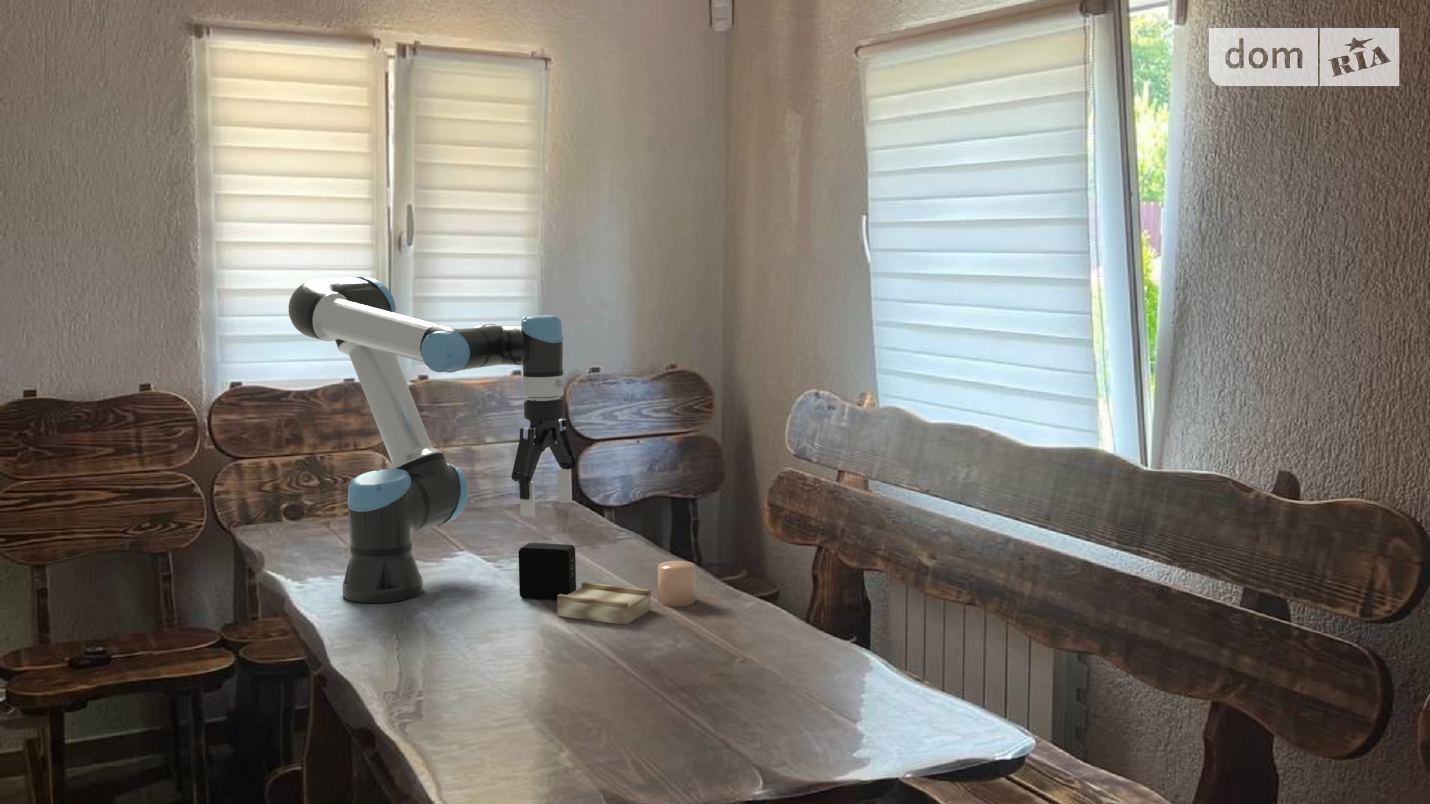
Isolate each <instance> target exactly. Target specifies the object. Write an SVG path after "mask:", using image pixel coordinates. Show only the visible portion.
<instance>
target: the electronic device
mask: <svg viewBox="0 0 1430 804" xmlns="http://www.w3.org/2000/svg"><path fill="white" fill-rule="evenodd" d="M576 563H577V562H576V547H575V546H574V545H572V544H567V543H566V544H562V543H560V544H559V543H543V542H541V543H539V542H529V543H525V544H523V546H520V548H519V550H518V582H519V583H518V584H519V587H518V589H519V596H520V598H521V599H524V600H535V601H537V600H539V601H557V595H559V594H563V595H568V594H570V593H572V592H574V591H576V590H577V574H576V572H577V571H576V567H577V566H576Z"/></svg>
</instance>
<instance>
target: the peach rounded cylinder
mask: <svg viewBox="0 0 1430 804" xmlns="http://www.w3.org/2000/svg"><path fill="white" fill-rule="evenodd" d="M657 582H658V583H657V585H658V587H657V588H658V589H657V593H658V595H657V597H658V604H660V605H661V606H666V607H673V608H675V607H676V608H677V607H678V608H679V607H687V606H691V605H693V604H695V603H696V564H695V563H693V562H691V561H687V560H686V561H685V560H670V561H669V560H667V561H663V562H661V563H658V565H657Z"/></svg>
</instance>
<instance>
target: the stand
mask: <svg viewBox="0 0 1430 804" xmlns="http://www.w3.org/2000/svg"><path fill="white" fill-rule="evenodd" d="M651 594H652V593H651V589H646V588H638V587H629V586H622V585H614V584H613V585H612V584H603V583H596V582H586V581H583V582H582V583H581V587H579V588H577V589H576V591H574V592H572V593H570V594H568V595H563V594H559V595H557V607H556V608H557V609H556V610H557V617H565V618H573V619H580V620H586V621H594V622H600V623H601V622H603V623H609V624H616V625H617V624H618V625H625V626H626V625H628V624H630V623H631V622H633V621H634V620H636V619H638V618H640V617H641V616H643V615H645V614H646V613H648V612H649V611H652V603H651V602H652V595H651Z"/></svg>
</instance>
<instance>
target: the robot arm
mask: <svg viewBox="0 0 1430 804" xmlns="http://www.w3.org/2000/svg"><path fill="white" fill-rule="evenodd" d="M396 311H397V308H396V302H395V299H394V297H393V295H392V293H391V291H390V290H389V289H388V287H387V286H386V285H385V284H384V283H382V282H381V281H380V280H377V279H375V278H371V277H363V276H351V277H343V278H342V277H340V278H338V277H337V278H317V279H316V278H315V279H312V280H311V279H310V280H309V281H305V282H304V283H302V284H301V285H300V286H298V287H296V289H295V290H294V291H293V293H292V294H291V297H290V299H289V302H288V315H289V319H290V321H291V324H292V325H293V327H295V329H296V330H297V331H298V332H300V333H301V334H302V335H304V336H307V337H310V338H313V339H316V340H321V341H324V342H334V341H335V343H336V346H337V348H338V351H339V352H341V353H343V354H346V355H348V357H349V358H350V361H351V363H352V365H353V369H354V371H355V373H356V376H357V379H358V381H359V384H360V386H361V389H362V391H363V393H364V396H365V398H366V400H367V404H368V406H369V408H370V411H371V414H372V416H373V419H374V421H375V424H376V426H377V428H378V431H379V433H380V434H379V435H380V436H381V439H382V441H383V444H384V446H385V449H386V451H387V454H388V457H389V459H390V462H391V465H390V467H389V468H383V469H380V470H371V471H368V472H364V473H362V474H359V475H357V476H356V477H354V478H352V480H351V481H350V483H349V484H348V491H347V492H348V493H347V495H348V496H347V500H346V502H347V503H346V504H347V509H348V528H349V529H348V530H349V545H350V548H349V549H350V555H349V560H348V565H347V567H346V572H345V575H344V580H343V582H342V587H341V588H342V596H344V597H345V598H344V597H343V598H344V599H346V600H348V601H350V600H351V602H355V603H360V604H361V603H363V604H381V603H382V604H383V603H392V602H393V603H394V602H400V601H404V600H408V599H412V598H414V597H417V596H419V595H420V594H422V593H423V591H424V582H423V581H424V579H423V576H422V575H421V573H420V570H419V567H418V564H417V561H416V558H415V555H414V552H413V533H415V532H419V531H421V530H425V529H427V528H432V527H434V526H435V527H436V526H442V525H444V524H445V523H448V522H450V521H453V520H455V519H457V518H458V517H459V516H460V515H461V514H462V513H463V512H464V510H465V508H466V505H467V504H466V503H467V502H468V499H469V483H468V481H467V480H468V479H467V477H466V475H465V474H464V471H462V470H461V469H460V468H459V467H457V466H456V464H455V465H454V464H451V463H448V462H447V459H446V457H445V454H444V453H443V450H442V451H441V450H440V449H437V448H435V447H433V445H432V442H431V440H430V438H429V435H428V433H427V430H426V427H425V425H424V422H423V421H422V418H421V415H420V412H419V411H418V407H417V405H416V403H415V401H414V398H413V395H412V392H411V390H410V388H409V385H408V383H407V381H406V378H405V376H404V373H403V371H402V368H401V365H400V363H399V361H398V357H397V356H399V357H402V358H406V359H410V360H414V361H417V362H421V363H424V364H425V365H426V366H427V367H428V368H429V370H430V371H432V372H436V373H446V374H447V373H455V372H459V371H466V370H473V369H477V368H486V367H493V366H501V365H503V366H506V365H507V366H522V389H523V390H522V391H523V392H522V394H523V397H525V399H524V401H523V416H524V419H526V420H528V421H529V422H530V423H529V427H520V429H519V440H518V445H517V450H516V453H515V459H514V463H513V464H514V465H513V469H512V472H511V480H512V481H513V482H518V487H519V489H518V490H519V506H520V507H519V508H520V510H519V511H520V513H519V514H520V517H521V516H522V517H529V518H530V517H531V518H534V517H536V502H535V501H536V500H535V498H536V496H535V495H536V494H535V493H536V492H535V481H533V480H532V479H533V477H534V473H535V472H536V468H537V466H538V464H539V463H538V462H539V461H540V458H541V455H542V453H543V452H544V451H545V450H546V449H548V448H549V449H550V451H551V453H552V455H553V456H554V458H555V460H556V462H557V464H558V466H559V467H558V468H556V472H557V473H556V477H557V483H556V484H557V502H559V503H566V504H567V503H568V504H570V503H573V494H572V493H573V492H572V491H573V489H572V488H573V487H572V485H573V484H572V469H577V467H578V465H577V464H578V463H579V462H578V455H577V452H576V449H575V446H574V442H573V439H572V436H571V432H570V428H569V427H570V426H569V419H567V418H564V417H565V400H564V399H563V398H562V396H564V395H565V394H564V393H565V392H564V385H565V381H564V371H563V368H564V367H563V364H564V363H563V360H564V359H563V358H564V357H563V354H564V352H563V350H564V349H563V348H564V347H563V346H564V336H563V330H562V329H563V328H562V320H561V318H560V317H559V316H557V315H551V314H550V315H549V314H547V315H543V314H542V315H541V314H540V315H539V314H536V315H535V314H534V315H533V314H532V315H525V316H524V317H522V318H521V324H520V325H505V324H496V323H489V324H487V323H486V324H479V325H476V326H474V327H467V328H454V327H449V326H446V325H441V324H438V323H436V322H435V323H434V322H431V321H426V320H424V319H423V320H422V319H419V318H415V317H412V316H407V315H404V314H400V313H396Z"/></svg>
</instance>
